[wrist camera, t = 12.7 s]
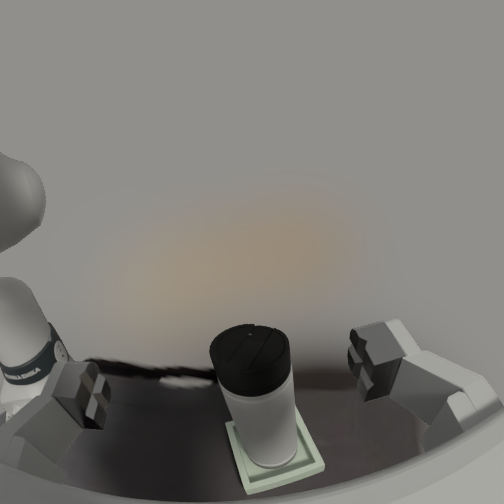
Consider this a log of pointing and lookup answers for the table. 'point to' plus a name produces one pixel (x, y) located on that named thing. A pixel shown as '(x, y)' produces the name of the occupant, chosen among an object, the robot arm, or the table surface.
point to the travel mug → (258, 391)
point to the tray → (266, 479)
